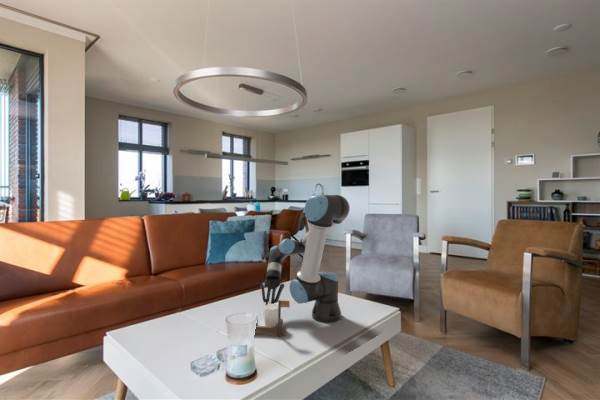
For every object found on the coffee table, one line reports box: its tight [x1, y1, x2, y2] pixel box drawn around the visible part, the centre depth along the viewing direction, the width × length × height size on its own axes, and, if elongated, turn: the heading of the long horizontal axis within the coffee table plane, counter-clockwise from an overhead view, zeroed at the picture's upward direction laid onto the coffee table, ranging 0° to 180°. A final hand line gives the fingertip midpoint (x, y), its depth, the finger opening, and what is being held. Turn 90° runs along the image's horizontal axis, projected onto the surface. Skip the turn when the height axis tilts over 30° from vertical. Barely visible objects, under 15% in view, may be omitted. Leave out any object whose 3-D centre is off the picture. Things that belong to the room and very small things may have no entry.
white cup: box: [263, 303, 278, 327], centre depth 152 cm, size 8×8×10 cm
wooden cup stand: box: [254, 299, 290, 338], centre depth 149 cm, size 12×20×16 cm, turn 86°
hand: (268, 315), depth 156 cm, fingers closed
